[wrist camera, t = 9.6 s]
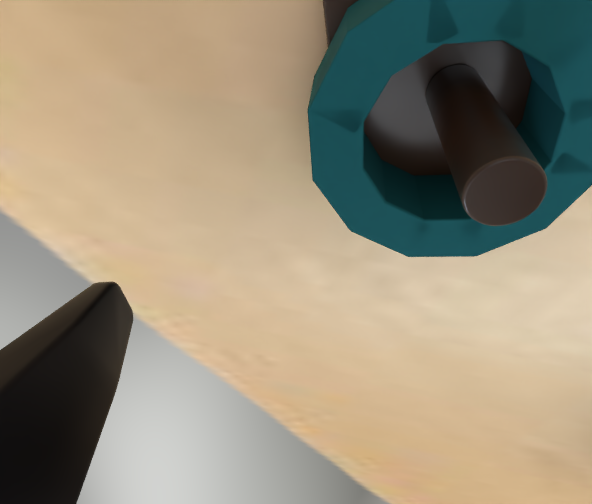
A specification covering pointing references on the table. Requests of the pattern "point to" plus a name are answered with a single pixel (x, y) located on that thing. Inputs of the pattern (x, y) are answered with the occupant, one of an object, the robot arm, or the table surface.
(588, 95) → the ring
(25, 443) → the robot arm
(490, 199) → the peg stand
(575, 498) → the table surface
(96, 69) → the table surface
